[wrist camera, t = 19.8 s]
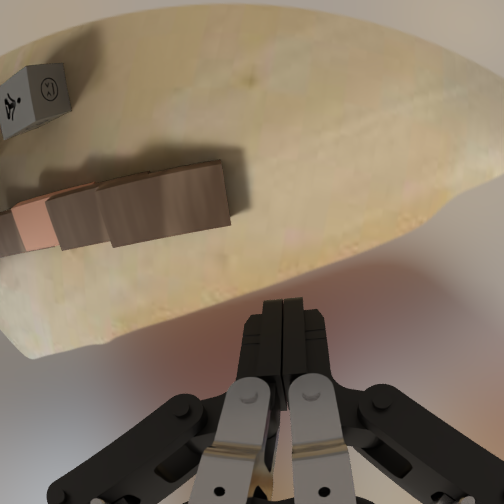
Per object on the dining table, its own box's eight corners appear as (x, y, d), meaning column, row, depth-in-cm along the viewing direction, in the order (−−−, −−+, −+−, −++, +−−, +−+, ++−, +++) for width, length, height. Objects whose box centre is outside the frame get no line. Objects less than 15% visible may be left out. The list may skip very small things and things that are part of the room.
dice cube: (30, 83, 19) (-6, 90, 15) (63, 62, 18) (26, 65, 14) (38, 127, 22) (3, 140, 17) (72, 110, 21) (35, 121, 17)
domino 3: (161, 224, 26) (67, 242, 25) (149, 170, 23) (51, 195, 22) (159, 232, 25) (62, 250, 24) (146, 176, 22) (44, 202, 21)
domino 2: (107, 229, 27) (32, 244, 26) (95, 181, 24) (18, 202, 23) (103, 236, 25) (26, 251, 25) (89, 187, 23) (10, 208, 22)
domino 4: (229, 217, 25) (117, 238, 24) (220, 159, 22) (100, 185, 22) (231, 225, 24) (112, 247, 23) (221, 163, 21) (94, 191, 20)
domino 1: (60, 239, 28) (4, 251, 27) (47, 198, 26) (-10, 215, 25) (54, 246, 27) (-2, 257, 26) (40, 203, 24) (-17, 221, 24)
